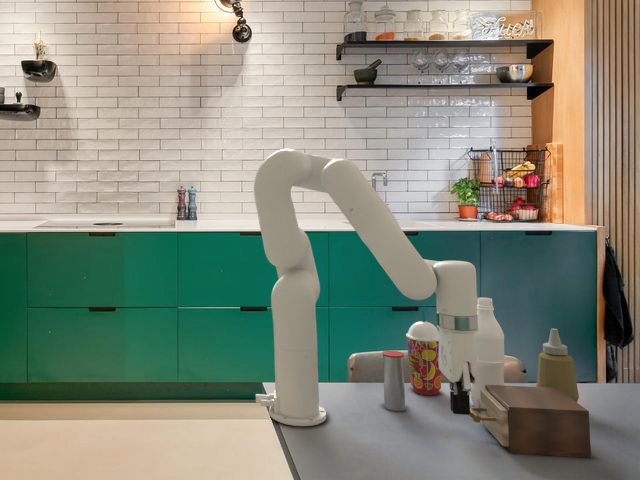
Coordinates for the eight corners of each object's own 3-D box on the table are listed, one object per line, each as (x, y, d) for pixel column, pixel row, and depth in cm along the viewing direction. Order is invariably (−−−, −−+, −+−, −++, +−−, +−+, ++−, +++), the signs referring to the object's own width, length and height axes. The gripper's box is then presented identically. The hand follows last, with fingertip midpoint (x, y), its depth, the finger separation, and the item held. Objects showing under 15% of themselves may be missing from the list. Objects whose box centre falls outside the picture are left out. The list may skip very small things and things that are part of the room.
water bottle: (512, 416, 124) (508, 302, 125) (477, 414, 125) (472, 301, 126) (500, 404, 131) (496, 296, 132) (466, 402, 132) (462, 295, 133)
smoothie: (403, 385, 145) (401, 306, 146) (438, 386, 144) (435, 307, 144) (413, 396, 136) (410, 313, 137) (449, 398, 135) (446, 314, 136)
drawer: (478, 444, 109) (477, 408, 109) (459, 421, 120) (458, 388, 120) (575, 450, 105) (573, 413, 106) (546, 425, 117) (545, 392, 117)
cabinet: (511, 452, 107) (509, 406, 107) (486, 425, 119) (484, 384, 120) (591, 457, 104) (588, 410, 105) (557, 429, 117) (555, 387, 117)
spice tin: (386, 410, 128) (384, 355, 129) (382, 403, 133) (380, 350, 133) (407, 411, 127) (405, 356, 128) (403, 404, 132) (401, 350, 132)
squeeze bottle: (575, 405, 129) (571, 326, 130) (584, 418, 122) (580, 334, 123) (533, 400, 133) (530, 323, 133) (539, 413, 125) (536, 331, 126)
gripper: (427, 313, 123) (430, 398, 123) (448, 330, 109) (451, 426, 108) (464, 314, 122) (468, 400, 121) (490, 331, 107) (494, 429, 107)
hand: (460, 412), depth 115 cm, fingers closed
